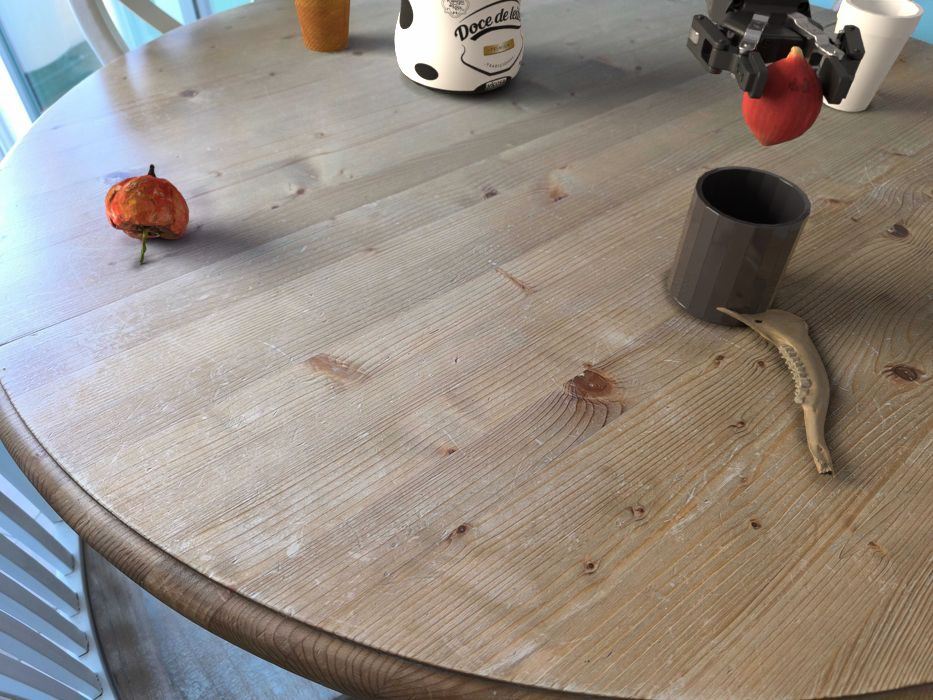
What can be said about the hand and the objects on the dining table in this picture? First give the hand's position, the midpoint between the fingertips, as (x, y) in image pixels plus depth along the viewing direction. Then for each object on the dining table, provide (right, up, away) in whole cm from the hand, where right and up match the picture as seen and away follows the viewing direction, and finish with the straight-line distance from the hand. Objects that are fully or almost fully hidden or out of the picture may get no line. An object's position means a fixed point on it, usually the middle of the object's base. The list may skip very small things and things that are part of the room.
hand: (800, 89), depth 55 cm
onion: (0, -3, +6) cm, 7 cm away
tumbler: (-1, -14, +16) cm, 21 cm away
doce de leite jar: (-26, +18, +49) cm, 58 cm away
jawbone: (0, -22, +8) cm, 24 cm away
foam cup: (+27, +15, +48) cm, 57 cm away
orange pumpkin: (-55, -9, +19) cm, 59 cm away
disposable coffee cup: (-45, +25, +55) cm, 75 cm away
